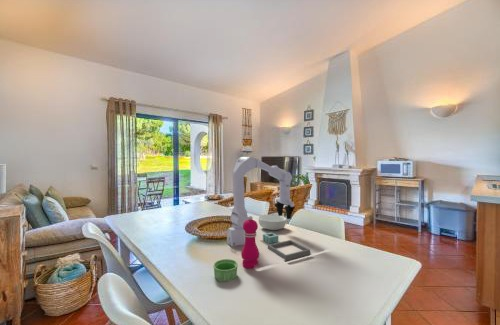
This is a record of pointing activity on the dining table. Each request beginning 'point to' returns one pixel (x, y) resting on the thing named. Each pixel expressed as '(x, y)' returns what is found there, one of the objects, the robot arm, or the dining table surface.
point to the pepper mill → (250, 244)
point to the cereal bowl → (272, 222)
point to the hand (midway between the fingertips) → (284, 217)
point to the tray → (292, 255)
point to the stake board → (267, 243)
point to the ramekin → (225, 269)
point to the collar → (270, 238)
